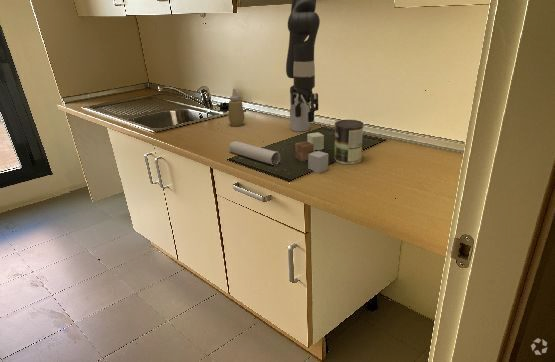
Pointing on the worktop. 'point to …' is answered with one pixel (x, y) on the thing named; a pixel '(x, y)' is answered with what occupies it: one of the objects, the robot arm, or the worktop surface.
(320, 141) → the pale sage block
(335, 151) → the coffee can
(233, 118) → the squeeze bottle
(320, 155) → the slate grey block
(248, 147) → the tube
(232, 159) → the worktop surface
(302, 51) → the robot arm
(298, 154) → the walnut block
